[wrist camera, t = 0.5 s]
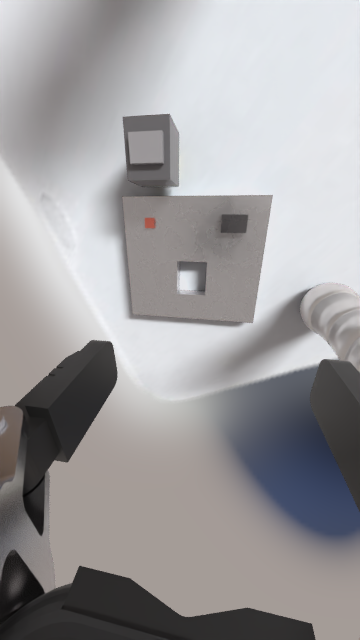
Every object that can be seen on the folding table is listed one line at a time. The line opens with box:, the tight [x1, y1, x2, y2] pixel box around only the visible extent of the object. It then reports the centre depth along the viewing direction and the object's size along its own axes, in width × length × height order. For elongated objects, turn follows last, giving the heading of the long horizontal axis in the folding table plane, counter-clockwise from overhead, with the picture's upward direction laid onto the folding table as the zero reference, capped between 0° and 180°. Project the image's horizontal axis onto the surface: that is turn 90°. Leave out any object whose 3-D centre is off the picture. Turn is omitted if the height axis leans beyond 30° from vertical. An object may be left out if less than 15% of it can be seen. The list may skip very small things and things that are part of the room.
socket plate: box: [122, 195, 273, 323], centre depth 30 cm, size 16×18×3 cm
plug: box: [123, 114, 179, 187], centre depth 24 cm, size 5×4×8 cm
